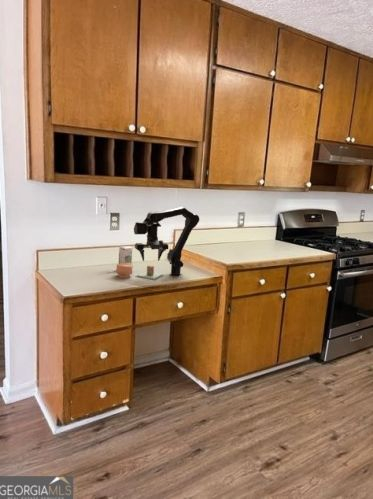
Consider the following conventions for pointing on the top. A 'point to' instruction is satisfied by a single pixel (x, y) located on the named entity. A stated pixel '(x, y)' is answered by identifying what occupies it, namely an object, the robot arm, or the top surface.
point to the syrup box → (125, 255)
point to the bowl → (124, 270)
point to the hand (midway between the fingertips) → (151, 260)
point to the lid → (150, 273)
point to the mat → (151, 279)
